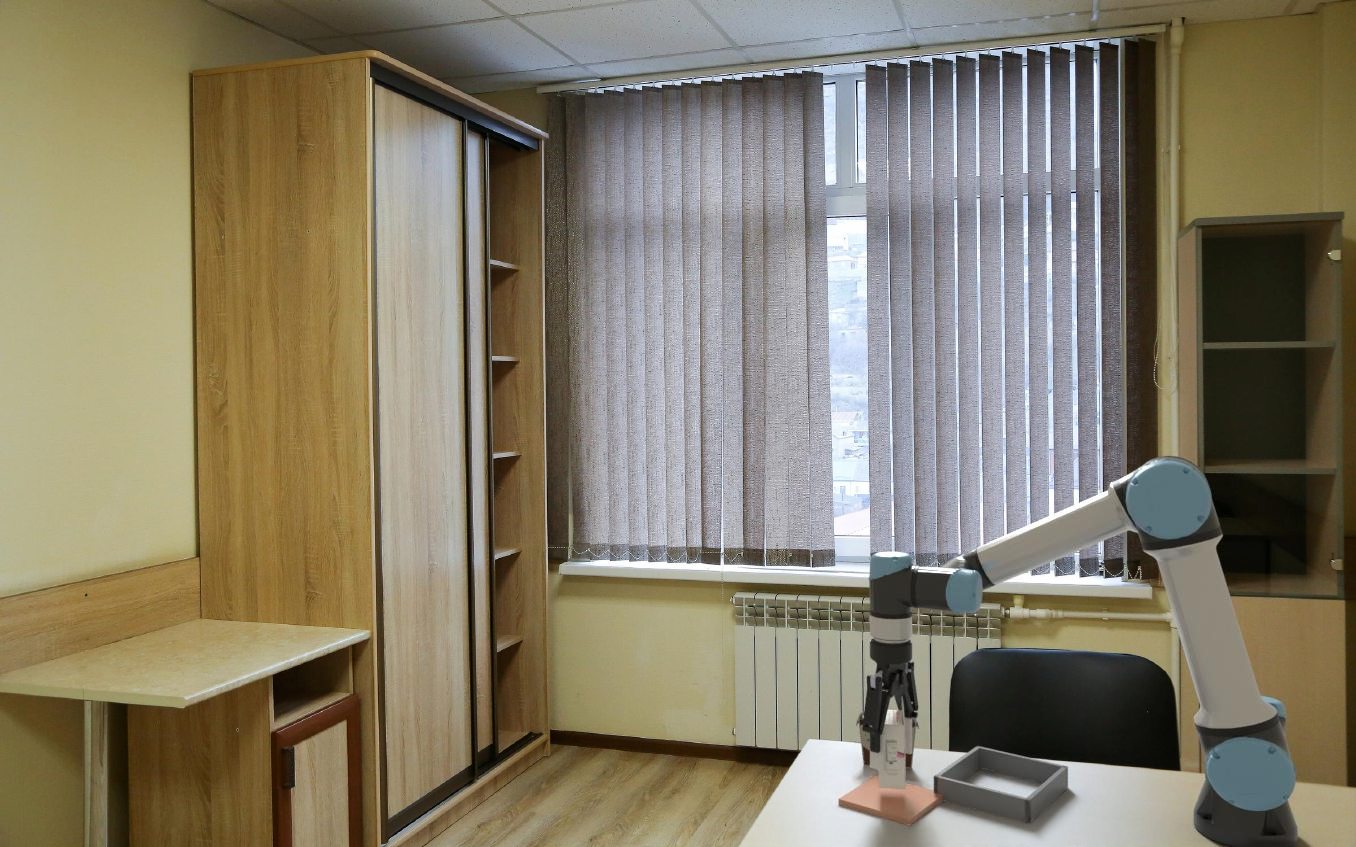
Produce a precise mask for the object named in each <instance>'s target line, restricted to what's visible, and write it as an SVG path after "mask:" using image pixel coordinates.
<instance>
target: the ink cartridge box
mask: <svg viewBox="0 0 1356 847" xmlns="http://www.w3.org/2000/svg"><path fill="white" fill-rule="evenodd" d="M889 709H890V708H888V711H887V715H886V720H885V724H884V729H883V733H885V742H886V770H885V771H881V770H878V776H879V788H892V789H905V786H906V785H905V783H906V780H907V779H906V772H907V771H906V769H907V768H906V757H905V719H904V704H903V696H902V710H898V709H896V710H889Z"/></svg>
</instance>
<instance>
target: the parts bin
mask: <svg viewBox="0 0 1356 847" xmlns="http://www.w3.org/2000/svg"><path fill="white" fill-rule="evenodd" d="M979 769H982V770H987V771H991V772H994V773H995V772H996V773H998V774H1003V775H1007V776H1012V777H1015V778H1020V779H1023V780H1028V781H1031V782H1036V783H1041V785H1039V786H1038V787H1037V788H1036V789H1035V790H1034V791H1033V792H1031V793H1030V794H1029V795H1028V796H1027V797H1024V796H1020V795H1016V794H1013V793H1008V792H1004V791H1000V790H996V789H991V788H988V787H985V786H982V785H977V784H974V783H973V784H972V783H969V782H965V781H964V780H966V779H967V778H968V777H970V776H971V775H972V774H974V773H975V772H976V771H978V770H979ZM1068 788H1069V767H1068V766H1067V765H1063V764H1059V763H1054V762H1049V761H1046V760H1042V759H1041V760H1040V759H1037V758H1033V757H1028V756H1023V755H1019V754H1015V753H1011V752H1010V753H1009V752H1006V751H1001V750H996V749H993V748H989V747H984V746H980V745H977V746H975V747H973V748H972V749H971V750H969V751H968V752H966V753H965V754H963V755H962V756H961V757H960V758H958V759H956V760H955V761H953V762H952V763H950V764H949V765H948V766H946V767H945V768H943V769H941V771H939V772H938V773H935V775H933V790H934V793H938V794H942V795H943V802H944V801H945V802H949V803H952V804H955V805H959V806H963V807H966V808H971V809H975V810H977V811H981V812H984V813H988V814H993V815H996V816H999V817H1003V818H1007V819H1011V820H1013V821H1014V820H1015V821H1019V822H1022V823H1025V824H1031V823H1032V822H1033V821H1034V820H1035V819H1036V818H1037V817H1038V816H1039V815H1041V813H1042V812H1043V811H1045V810H1046V809H1047V808H1048V807H1049V806H1050V805H1051V804H1052V803H1054V801H1055V800H1057V799H1058V798H1059V797H1060V796H1061V795H1062V794H1063V793H1064V792H1065V791H1066V790H1067V789H1068Z"/></svg>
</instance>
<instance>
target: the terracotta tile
mask: <svg viewBox="0 0 1356 847" xmlns="http://www.w3.org/2000/svg"><path fill="white" fill-rule="evenodd" d="M905 785H906V786H905V789H892V788H879V774H878V775H876V774H875V775H873V777H871V778H869V779H867V780H866V781H864V782H862V784H860V785H858V786H857V787H855V788H854V789H852V790H850V791H849V792H846V793H845V794H844V795H842V796H840V797H839V798H838V805H839V806H842V807H846V808H849V809H853V810H856V811H860V812H863V813H867V814H870V815H874V816H877V817H880V818H884V819H886V820H889V821H890V820H891V821H895V822H897V823H901V824H904V825H907V826H910V825H912V824H913V823H915V822H916V821H917V820H919V819H920V818H921V817H923V816H924V815H925V814H927V813H928V812H929V811H930V810H932V809H933V808H935V807H936V806H937V805H939V804H940V803H941V802H942V801H943V802H944V800H943V795H942V794H938V793H934V789H930V788H926V787H922V786H919V785H914V784H911V783H907V782H905Z"/></svg>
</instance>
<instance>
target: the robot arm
mask: <svg viewBox="0 0 1356 847" xmlns="http://www.w3.org/2000/svg"><path fill="white" fill-rule="evenodd" d="M1216 511H1217V510H1216V508H1215V505H1214V502H1213V499H1212V492H1211V488H1210V485H1209V481H1208V480H1207V478H1206V475H1205V474H1204V472H1203V471H1202V469H1201V468H1200V467H1199V466H1197V464H1195V463H1194V462H1192V461H1190V460H1189V459H1187V458H1184V457H1179V456H1176V455H1163V456H1158V457H1154V458H1151V459H1149V460H1148V461H1146V462H1145V463H1143V465H1140V466H1139V467H1138V468H1137V469H1135V470H1133V471H1132V472H1130V473H1128V474H1127V475H1125V476H1123V477H1120V478H1119V479H1116V480H1114V481H1112V482H1110V484H1109V486H1108V488H1107V490H1105V491H1104V492H1101V493H1099V494H1097V495H1094V496H1092V497H1089V498H1088V499H1085V500H1083V501H1081V502H1078V503H1076V504H1074V505H1072V506H1069V507H1067V508H1064V509H1063V510H1059V511H1058V512H1056V513H1053V514H1051V515H1049V516H1047V517H1044V518H1042V519H1040V520H1038V521H1035V522H1033V523H1030V524H1028V525H1026V526H1024V527H1021V528H1019V529H1017V530H1015V531H1012V532H1010V533H1007V534H1005V535H1003V536H1001V537H998V538H996V539H994V540H991V541H989V542H987V543H985V544H983V545H981V546H978V547H977V548H974V549H971V550H969V551H966V552H964V553H958V554H956V555H954V556H952V557H950V558H949V559H948V560H947V562H945V563H944V564H942V565H941V566H940V567H936V566H922V565H914V562H913V558H912V555H911V554H909V553H907V552H901V551H878V552H876V553H873V555H871V557H870V562H869V575H868V581H869V582H868V583H869V584H868V586H869V590H868V591H869V592H868V593H869V618H868V622H869V635H870V636H871V638H870V639H869V658H870V659H871V660H872V661H874V662H875V663H876V670H875V674H867V676H866V694H865V695H866V696H865V702H864V703H865V704H864V718H863V727H862V730H863V731H864V732H868V733H869V734H870V766H869V769H870V768H871V769H873V770H878V771H879V770H881V771H885V770H886V742H885V733H883V729H884V724H885V720H886V715H887V711H888V709H889V707H890V701H891V699H892V698H893V697H894V701H895V703H896V707H897V710H902V696H903V704H904V719H905V753H907V754H912V717H913V718H916V719H918V716H919V712H918V711H919V702H918V701H919V700H918V693H917V686H916V680H915V662H914V661H912V659H913V641H912V640H911V639H912V637H913V609H921V610H922V609H924V610H932V611H941V612H942V611H943V612H948V613H949V612H951V613H956V614H961V613H962V614H963V613H969V614H972V613H973V614H974V613H977V612H978V611H979V610H980V609H981V604H982V602H983V591H985V590H988V589H991V588H992V587H995V586H997V585H999V584H1001V583H1004V582H1006V581H1008V580H1009V581H1010V580H1011V579H1014V578H1016V577H1018V576H1022V575H1023V574H1025V573H1029V572H1031V571H1034V570H1035V569H1036V570H1037V569H1038V568H1040V567H1043V566H1046V565H1048V564H1050V563H1053V562H1055V561H1058V560H1060V559H1062V558H1064V557H1067V556H1069V555H1072V554H1075V553H1077V552H1080V551H1081V550H1084V549H1087V548H1089V547H1091V546H1094V545H1096V544H1099V543H1101V542H1104V541H1106V540H1109V539H1111V538H1113V537H1115V536H1119V535H1121V534H1124V533H1125V532H1128V531H1130V532H1134V533H1135V534H1136V533H1137V534H1138V537H1139V540H1140V544H1141V548H1142V551H1143V552H1144V553H1146V554H1148V555H1149V556H1151V557H1153V558H1154V559H1155V560H1156V561H1157V565H1158V569H1159V571H1160V576H1161V578H1162V579H1161V580H1162V582H1163V585H1164V588H1165V589H1164V590H1165V592H1166V595H1167V599H1168V602H1169V606H1170V610H1171V612H1172V616H1173V618H1174V622H1175V626H1176V629H1177V632H1178V636H1179V639H1180V641H1181V645H1182V648H1183V652H1184V655H1185V659H1186V661H1187V665H1188V669H1189V672H1190V676H1191V679H1192V682H1193V685H1194V689H1195V692H1196V696H1197V700H1198V702H1199V705H1200V706H1199V710H1197V713H1196V714H1194V717H1193V722H1194V726H1195V728H1196V729H1195V730H1196V732H1197V735H1198V739H1199V742H1200V746H1201V748H1202V752H1203V756H1204V761H1205V762H1204V765H1205V766H1204V767H1205V768H1204V770H1205V773H1204V782H1203V785H1202V787H1201V789H1200V792H1199V795H1198V798H1197V800H1196V803H1195V805H1194V807H1193V826H1194V827H1195V829H1196V830H1197V831H1198V832H1200V833H1201V834H1202V835H1203V836H1205V837H1207V838H1208V839H1210V840H1213V841H1214V842H1217V843H1220V844H1223V845H1225V846H1229V847H1296V846H1297V845H1298V841H1299V839H1298V838H1299V832H1298V831H1299V829H1298V825H1297V822H1296V820H1295V817H1294V814H1293V811H1292V809H1291V805H1290V803H1289V799H1290V797H1291V796H1292V794H1293V793H1294V791H1295V786H1296V781H1297V778H1298V777H1297V776H1298V775H1297V774H1298V773H1297V769H1296V765H1295V764H1294V761H1293V759H1292V756H1291V752H1290V749H1289V748H1290V747H1289V745H1288V741H1287V732H1286V731H1287V730H1286V729H1287V728H1286V725H1287V724H1286V721H1287V720H1288V716H1287V712H1286V707H1285V706H1286V705H1285V704H1284V703H1283V702H1282V701H1280V700H1278V699H1277V698H1274V697H1270V696H1265V695H1261V692H1260V690H1259V686H1258V683H1257V679H1256V676H1255V673H1254V669H1253V667H1252V664H1251V660H1250V657H1249V653H1248V650H1247V647H1246V644H1245V641H1244V637H1243V634H1242V630H1241V627H1240V624H1239V621H1238V618H1237V614H1236V611H1235V607H1234V605H1233V602H1232V598H1231V595H1230V591H1229V588H1228V585H1227V582H1226V581H1227V580H1226V577H1225V575H1224V571H1223V568H1222V565H1221V561H1220V558H1219V555H1218V552H1217V545H1218V544H1219V542H1220V541H1221V540H1222V538H1223V536H1224V535H1223V531H1222V528H1221V524H1220V521H1219V517H1218V514H1217V512H1216Z"/></svg>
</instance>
